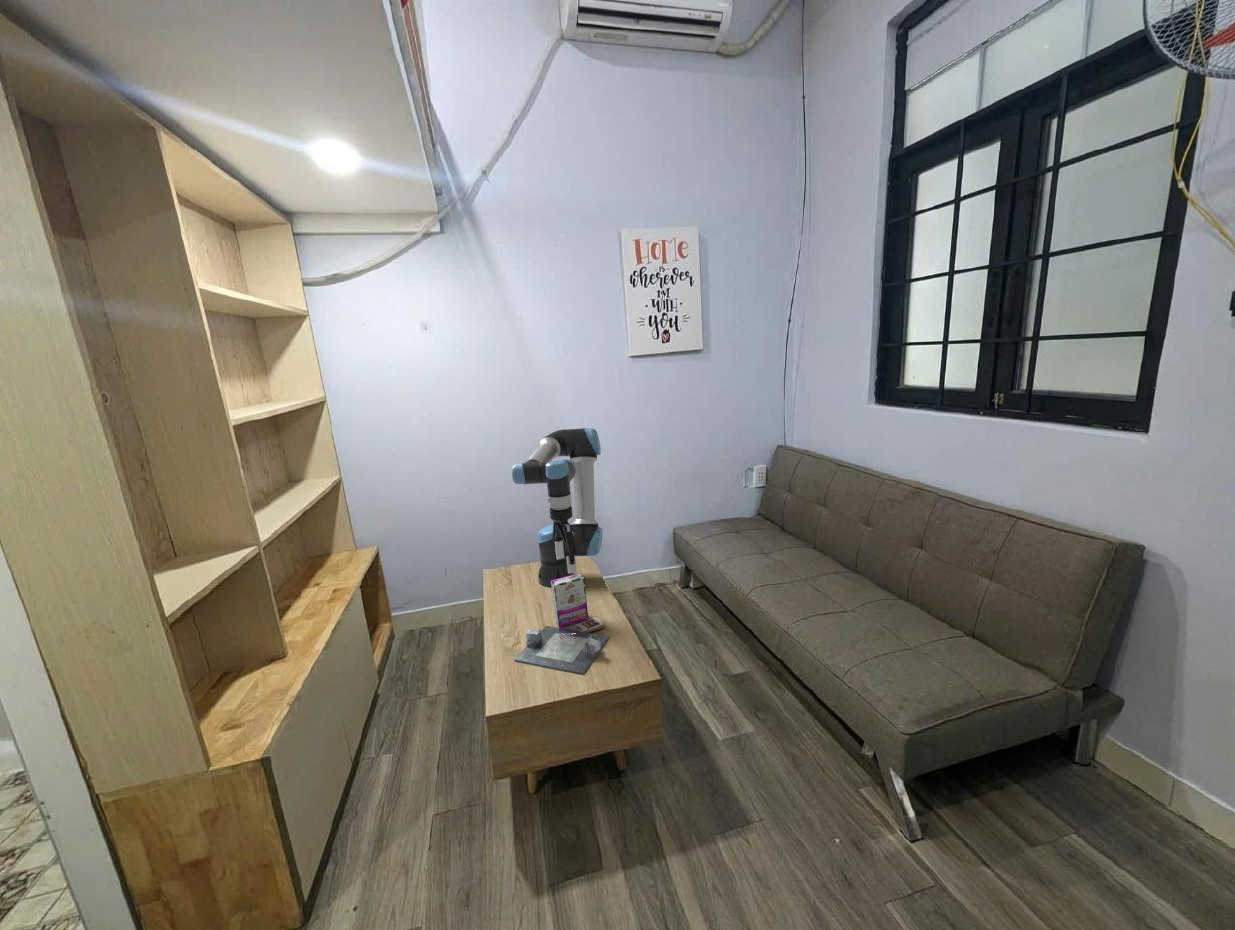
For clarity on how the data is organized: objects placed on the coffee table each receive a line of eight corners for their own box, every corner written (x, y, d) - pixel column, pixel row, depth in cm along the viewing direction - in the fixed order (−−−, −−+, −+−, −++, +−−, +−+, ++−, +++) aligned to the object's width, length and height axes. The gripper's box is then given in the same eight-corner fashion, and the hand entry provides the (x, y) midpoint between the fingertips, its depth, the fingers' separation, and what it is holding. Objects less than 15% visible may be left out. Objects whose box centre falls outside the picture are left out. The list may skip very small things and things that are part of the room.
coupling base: (511, 660, 151) (509, 646, 150) (543, 626, 169) (542, 614, 168) (586, 675, 142) (585, 661, 141) (612, 637, 160) (611, 625, 159)
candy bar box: (584, 613, 176) (580, 572, 173) (588, 620, 172) (585, 577, 168) (554, 622, 172) (550, 579, 168) (558, 628, 167) (554, 585, 164)
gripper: (540, 499, 172) (546, 555, 177) (560, 518, 150) (566, 581, 154) (560, 496, 175) (565, 551, 180) (583, 514, 153) (588, 576, 157)
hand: (566, 565), depth 167 cm, fingers open, 13 cm apart
